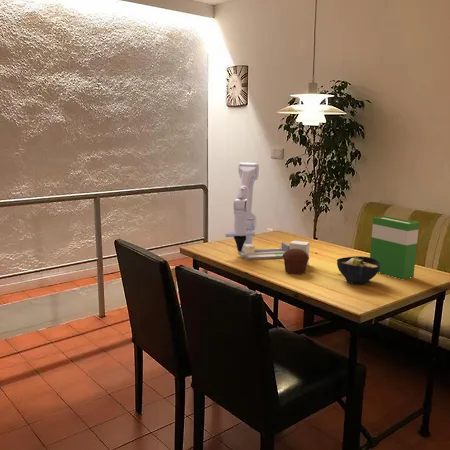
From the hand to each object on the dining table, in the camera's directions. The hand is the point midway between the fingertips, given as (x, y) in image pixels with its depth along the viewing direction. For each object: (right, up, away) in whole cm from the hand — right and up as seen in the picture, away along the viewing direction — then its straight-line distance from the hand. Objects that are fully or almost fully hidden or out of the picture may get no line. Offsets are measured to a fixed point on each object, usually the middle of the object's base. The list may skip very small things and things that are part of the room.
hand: (239, 251), depth 233 cm
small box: (+27, -6, -12) cm, 30 cm away
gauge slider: (+5, -1, 0) cm, 5 cm away
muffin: (+24, -8, -23) cm, 34 cm away
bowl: (+47, -11, -36) cm, 60 cm away
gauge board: (+13, -2, +2) cm, 13 cm away
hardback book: (+66, -9, -23) cm, 70 cm away
